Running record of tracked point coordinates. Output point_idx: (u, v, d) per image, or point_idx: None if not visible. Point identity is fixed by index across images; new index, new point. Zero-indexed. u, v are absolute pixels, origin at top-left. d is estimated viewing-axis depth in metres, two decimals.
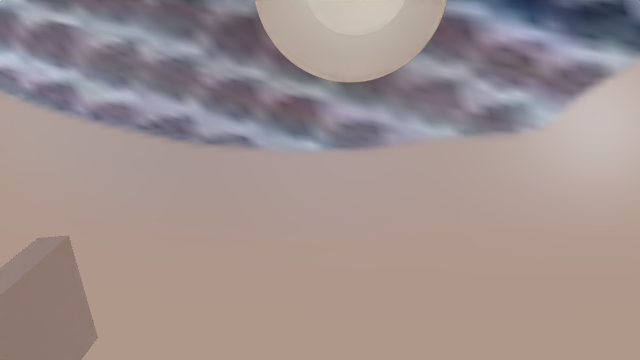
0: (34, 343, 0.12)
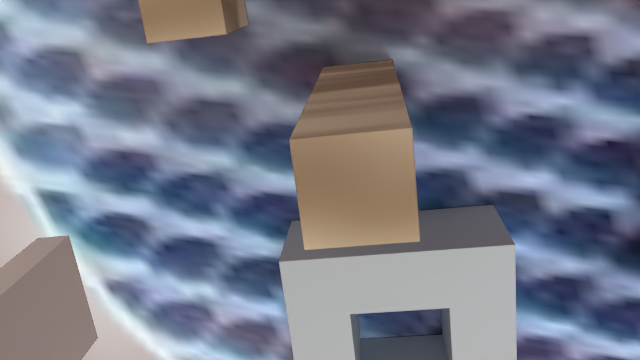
0: (34, 343, 0.12)
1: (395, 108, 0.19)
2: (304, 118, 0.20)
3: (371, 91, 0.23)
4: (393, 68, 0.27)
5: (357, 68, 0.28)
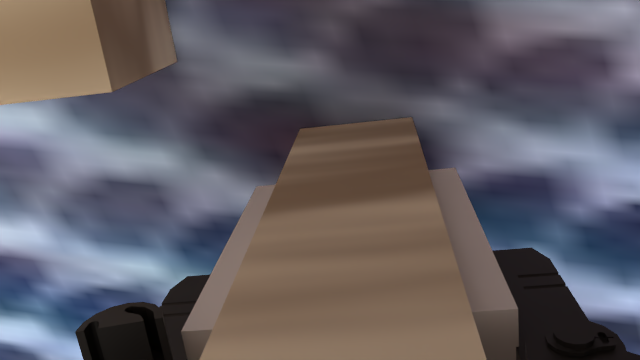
0: None
1: (445, 317, 0.08)
2: (221, 338, 0.08)
3: (381, 220, 0.11)
4: (417, 142, 0.16)
5: (354, 136, 0.17)
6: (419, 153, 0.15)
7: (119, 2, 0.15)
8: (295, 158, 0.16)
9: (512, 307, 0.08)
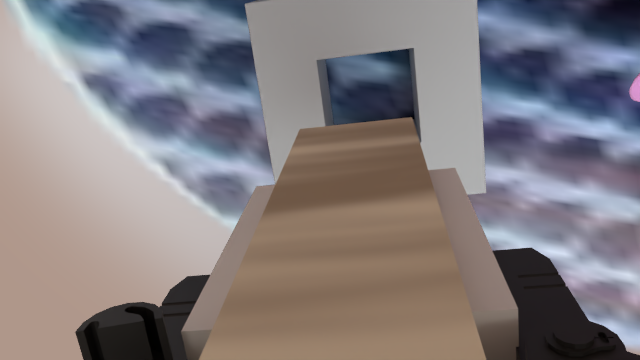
0: None
1: (445, 318, 0.08)
2: (220, 338, 0.08)
3: (381, 220, 0.11)
4: (417, 142, 0.16)
5: (354, 137, 0.17)
6: (419, 153, 0.15)
7: None
8: (295, 158, 0.16)
9: (512, 307, 0.08)
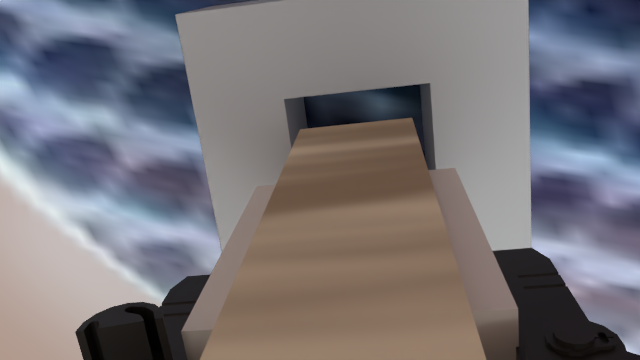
0: None
1: (446, 319, 0.08)
2: (221, 339, 0.08)
3: (382, 221, 0.11)
4: (417, 142, 0.16)
5: (354, 137, 0.17)
6: (419, 154, 0.15)
7: None
8: (295, 159, 0.16)
9: (511, 307, 0.08)
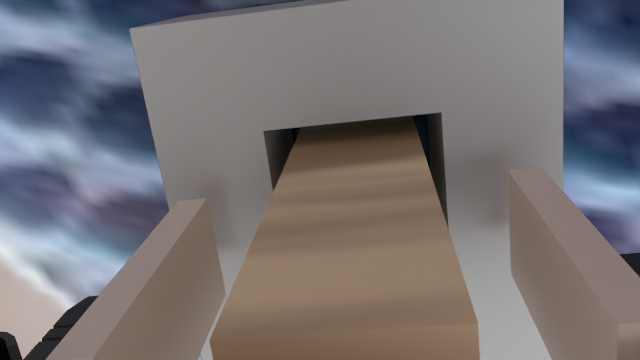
0: (193, 290, 0.13)
1: (429, 236, 0.10)
2: (256, 253, 0.10)
3: (380, 176, 0.13)
4: (411, 119, 0.18)
5: None
6: (413, 127, 0.17)
7: None
8: (305, 133, 0.18)
9: None
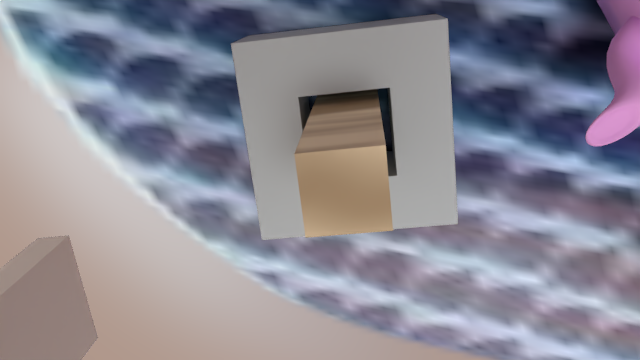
0: (34, 343, 0.12)
1: (375, 129, 0.25)
2: (305, 137, 0.25)
3: (357, 114, 0.28)
4: (376, 93, 0.33)
5: (347, 93, 0.34)
6: (376, 97, 0.32)
7: None
8: (319, 100, 0.33)
9: None
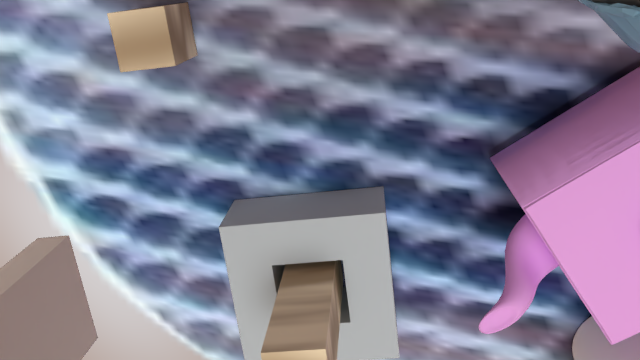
0: (34, 343, 0.12)
1: (322, 321, 0.34)
2: (271, 325, 0.34)
3: (314, 292, 0.37)
4: None
5: None
6: (334, 261, 0.41)
7: (176, 31, 0.37)
8: None
9: None
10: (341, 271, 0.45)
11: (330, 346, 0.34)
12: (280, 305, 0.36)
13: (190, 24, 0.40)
